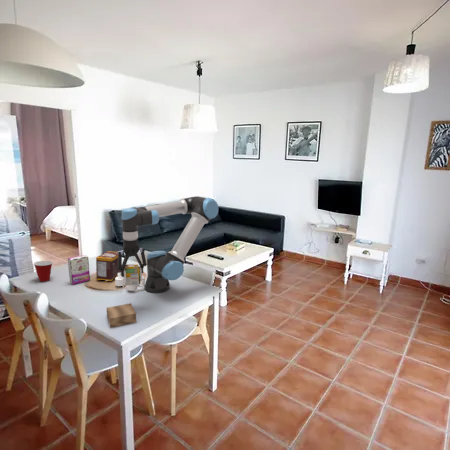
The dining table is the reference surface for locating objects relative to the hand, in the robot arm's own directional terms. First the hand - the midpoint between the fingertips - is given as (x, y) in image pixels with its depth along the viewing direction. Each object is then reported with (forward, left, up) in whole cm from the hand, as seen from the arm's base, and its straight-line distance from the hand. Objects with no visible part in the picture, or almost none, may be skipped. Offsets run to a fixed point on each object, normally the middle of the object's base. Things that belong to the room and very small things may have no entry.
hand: (132, 280), depth 168 cm
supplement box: (+2, -49, -15) cm, 51 cm away
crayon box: (0, 0, -2) cm, 2 cm away
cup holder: (-5, -26, -15) cm, 31 cm away
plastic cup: (+38, -64, -15) cm, 76 cm away
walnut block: (+9, +11, -15) cm, 21 cm away
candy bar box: (+20, -50, -15) cm, 56 cm away
